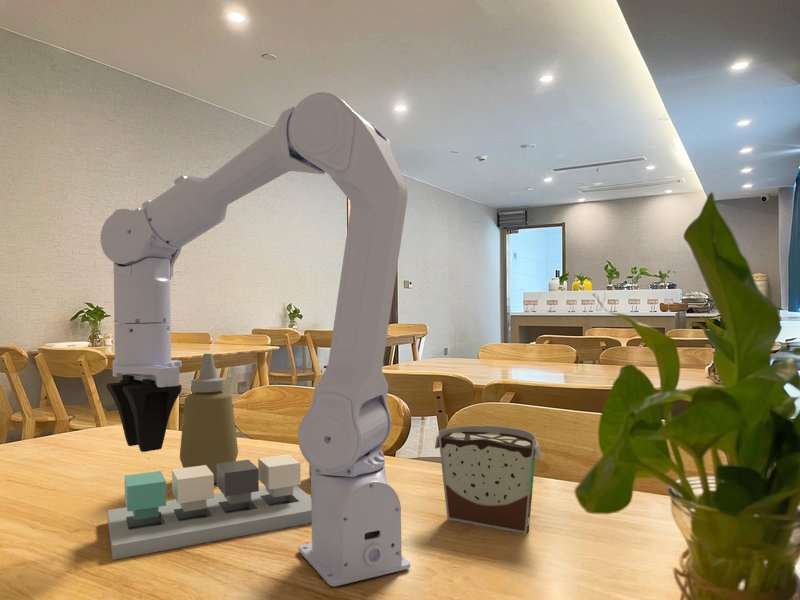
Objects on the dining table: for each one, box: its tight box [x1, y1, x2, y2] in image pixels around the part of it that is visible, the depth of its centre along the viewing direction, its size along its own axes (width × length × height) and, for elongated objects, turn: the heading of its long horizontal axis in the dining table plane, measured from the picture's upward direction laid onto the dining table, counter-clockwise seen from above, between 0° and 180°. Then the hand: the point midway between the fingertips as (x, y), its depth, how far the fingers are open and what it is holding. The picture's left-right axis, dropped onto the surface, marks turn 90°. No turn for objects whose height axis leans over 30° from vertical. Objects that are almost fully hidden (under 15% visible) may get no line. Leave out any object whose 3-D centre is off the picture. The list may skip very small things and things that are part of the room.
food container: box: [434, 425, 542, 535], centre depth 70 cm, size 12×6×10 cm, turn 59°
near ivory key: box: [257, 453, 302, 497], centre depth 74 cm, size 5×4×4 cm
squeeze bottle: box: [179, 353, 239, 484], centre depth 87 cm, size 8×8×18 cm
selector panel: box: [107, 485, 312, 561], centre depth 70 cm, size 12×22×1 cm, turn 117°
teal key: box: [124, 470, 167, 520], centre depth 67 cm, size 5×4×4 cm
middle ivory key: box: [171, 465, 215, 512], centre depth 69 cm, size 5×4×4 cm
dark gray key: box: [216, 459, 260, 504], centre depth 71 cm, size 5×4×4 cm
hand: (144, 447), depth 67 cm, fingers open, 3 cm apart
